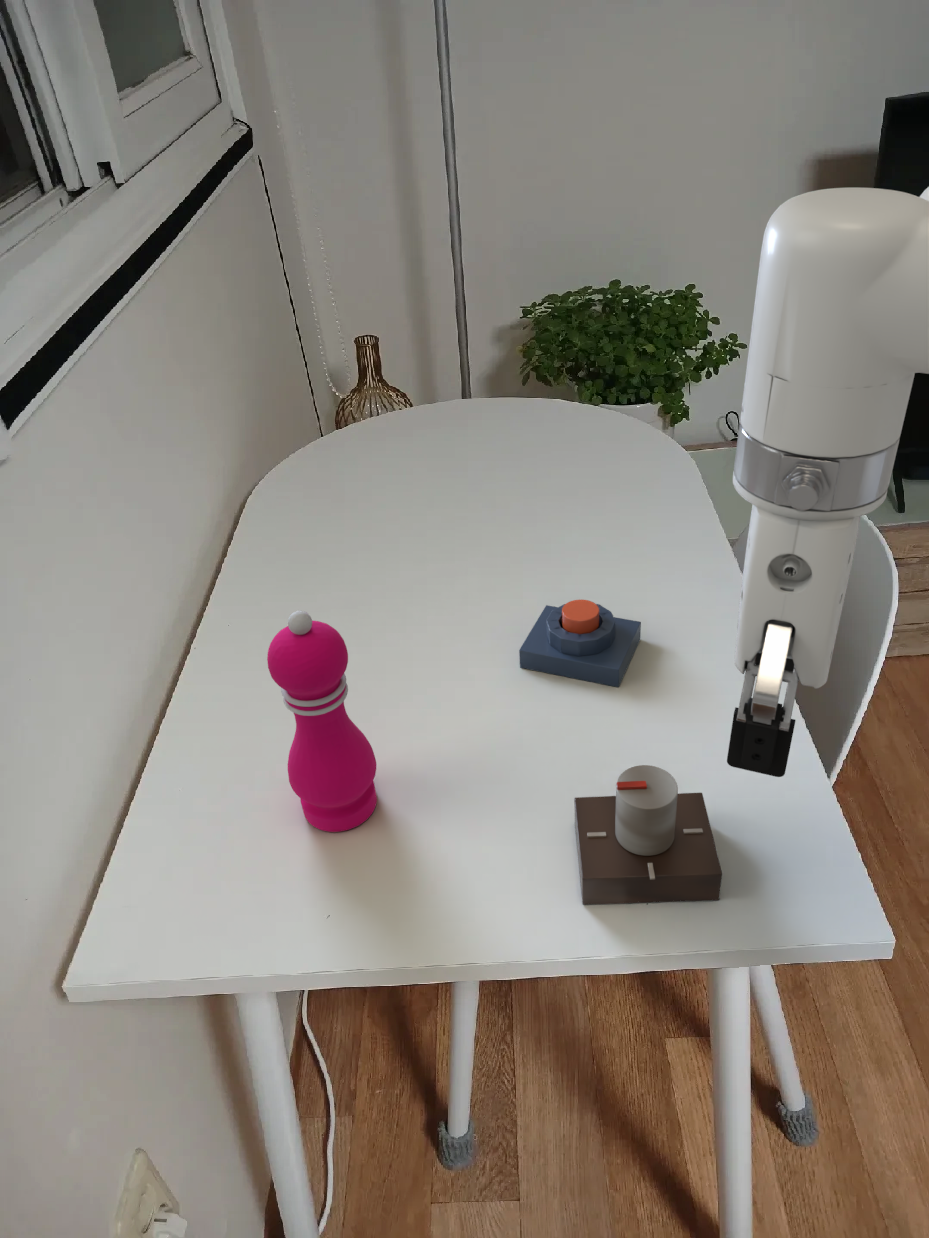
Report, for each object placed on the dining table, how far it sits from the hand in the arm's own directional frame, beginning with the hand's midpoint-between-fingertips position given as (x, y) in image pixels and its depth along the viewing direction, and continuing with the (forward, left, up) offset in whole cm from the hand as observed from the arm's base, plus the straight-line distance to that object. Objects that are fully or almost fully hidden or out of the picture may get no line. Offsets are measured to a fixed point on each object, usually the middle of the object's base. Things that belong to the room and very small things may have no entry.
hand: (767, 714), depth 58 cm
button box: (+20, -26, -19) cm, 38 cm away
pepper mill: (+33, 0, -19) cm, 38 cm away
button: (+20, -26, -15) cm, 36 cm away
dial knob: (+8, -2, -16) cm, 18 cm away
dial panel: (+8, -2, -19) cm, 21 cm away
